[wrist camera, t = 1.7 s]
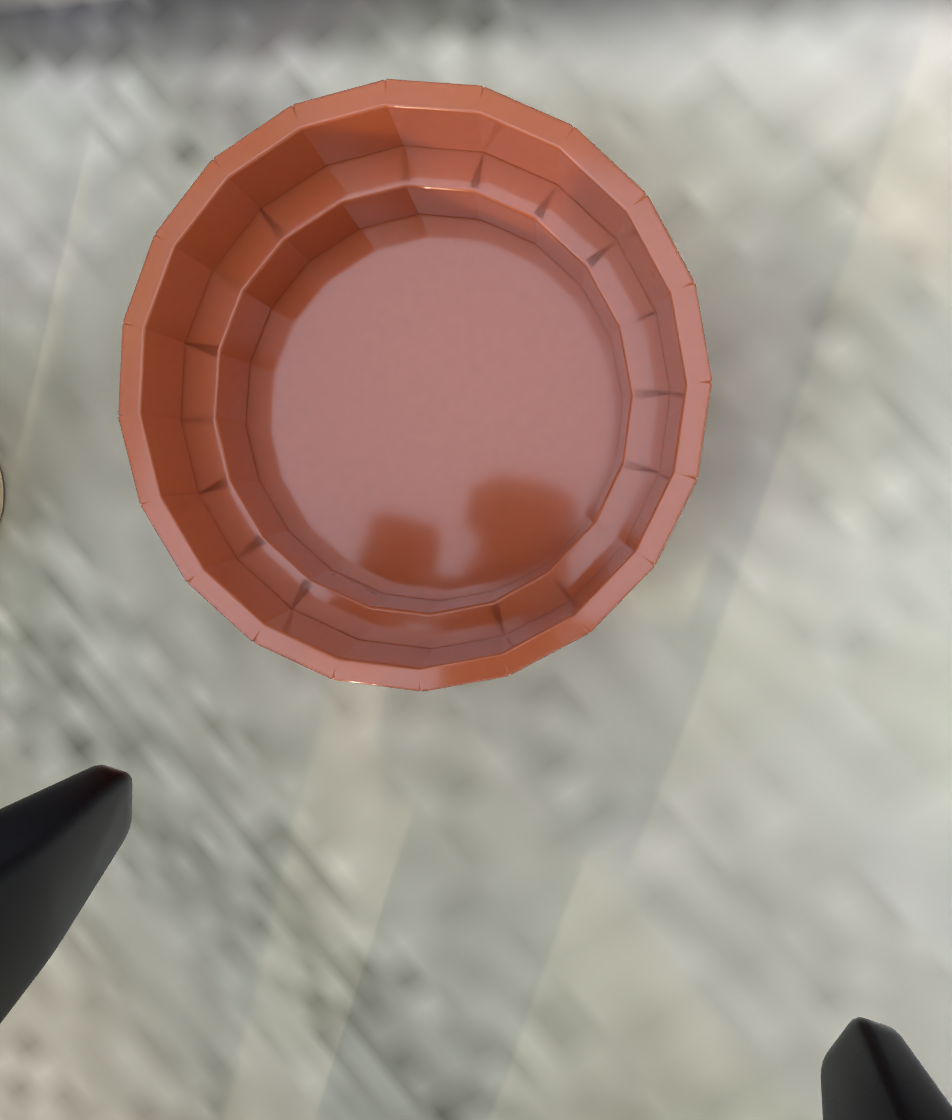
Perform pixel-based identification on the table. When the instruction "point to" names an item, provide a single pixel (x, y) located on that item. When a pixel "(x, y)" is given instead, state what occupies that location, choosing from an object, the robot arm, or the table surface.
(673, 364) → the bowl
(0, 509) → the bottle
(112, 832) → the robot arm
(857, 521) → the table surface
